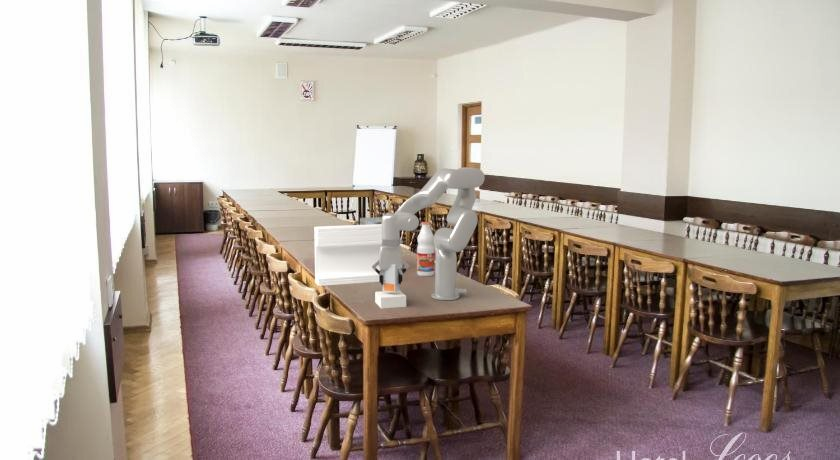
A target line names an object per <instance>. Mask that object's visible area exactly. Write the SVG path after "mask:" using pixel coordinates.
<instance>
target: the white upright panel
mask: <svg viewBox="0 0 840 460" xmlns="http://www.w3.org/2000/svg"><path fill="white" fill-rule="evenodd" d="M313 230H314V234H313V235H314V237H313V238H314V283H315V284H316V285H317V286H318V287H325V286H334V285H349V284H362V283H377V282H378V283H380V282H379V274H378V273H377V272H376V271H375V270H374V269H373V268H372V265H373V264H375V263H376V262H377V261H378V260H379V249H380V246H382V224H370V225H360V224H353V225H352V224H351V225H350V224H348V225H346V224H345V225H324V226H323V225H321V226H318V225H317V226H314V227H313ZM376 268H377V269H378V270H379V271H380V267H379V265H377V266H376ZM382 275H383V273H382Z"/></svg>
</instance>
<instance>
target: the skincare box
mask: <svg viewBox="0 0 840 460" xmlns="http://www.w3.org/2000/svg"><path fill="white" fill-rule="evenodd" d="M399 290H400V284H399V271H398V269H397V265H391V266H390V268H389V269H388V270H384V271H383V285H382V291H385V292H394V293H396V292H397V291H399Z"/></svg>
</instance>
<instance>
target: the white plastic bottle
mask: <svg viewBox="0 0 840 460" xmlns="http://www.w3.org/2000/svg"><path fill="white" fill-rule="evenodd" d="M420 225H421V228H420V231H419V234H418V235H417V237H416V239H417V247H416V275H417V276H418V277H419V276H420V277H432V276H435V247H434V235H435V234H433V232H432V231H433V230H432V228H431V226H432V223H431V221H421V223H420Z"/></svg>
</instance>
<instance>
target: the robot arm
mask: <svg viewBox="0 0 840 460" xmlns="http://www.w3.org/2000/svg"><path fill="white" fill-rule="evenodd" d="M485 178H486V177H485V173H484V172H483V170H482V169H480V168H478V167H477V168H476V167H465V166H464V167H459V168H457V169H456V168H439V170H437V171H436V172H435V173H434V174H433V176H432V177H431V178H430V179H429V180H428V181H427V182H426V184H424V185H423V187H422V188H421V189H420V190H419V191H418V192H415V194H414V195H412V196H411V197H409V198H408V199H407V200H405V201H404V202H403V203H402V204H401V205H400V206H399V207H398V208H397V209H396V211H395V212H394V213H385V214H383V215H381V217H382V246H380V249H379V260H378V261H377V262H376V263H375V264H373V265H372V268H373V269H374V270H375V271H376V272H377V273H378V274H379V282H378V283H380V285H381V286H383V275H382V273H383V271H384V270H388V269H389V268H390V266H391V265H397V269H398V271H399V285H402V283H403V275H404V274H405V273H406V272H407V270H408V269H409V267H410V266H411V265H410V264H409V263H408V262H406V261H405V260H404V258H403V257H404V256H403V249H402V246H401V245H402V244H404V239H401V238H400V237H401V236H400V231H405V232H412V231H414V230H416V229H417V228H418V227H419V223H420V220H419V218H418V217H417V215H415V214H416V213H417V212H419V211H421V210H424V209H426V208H429V207H431V206H434V205H435V204H436V203H437V202H438V201H439V199H440V198H441V197H442V196H443V195H444V194H445V192H446V191H447V190H448V189H450V190H452V189H453V190H457V194H456V196H455V200H454V202H453V204H452V206H451V207H450V209H449V211H448V213H447V216H446V221H447V224H448V225H449V226H451V227H453V228H450V227H440V228H439V229H437V230H436V231H435V233H434V234H433V235H434V247H435V273H434V280H435V281H434V292H433V293H432V294H431V298H432V299H435V300H438V301H455V300H458V299H460V294H467V292H468V290H467V288H458V287H457V261H458V260H457V253H460V252H462V251H463V250H464V249H465V248H466V247H467V245H468V244H469V242H470V240H471V237H472V235H473V233H474V231H475V230H476V227H477V225H478V220H479V219H478V214H477V213H476V212H475V211H476V210H474V209H473V206H474V204H475V202H476V198H477V194H476V188H479V187H481V186H482V185H483V184H484V181H485ZM377 265H379V267H380V271H379V270H378V269H377V268H376V266H377ZM403 265H404V268H403Z"/></svg>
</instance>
